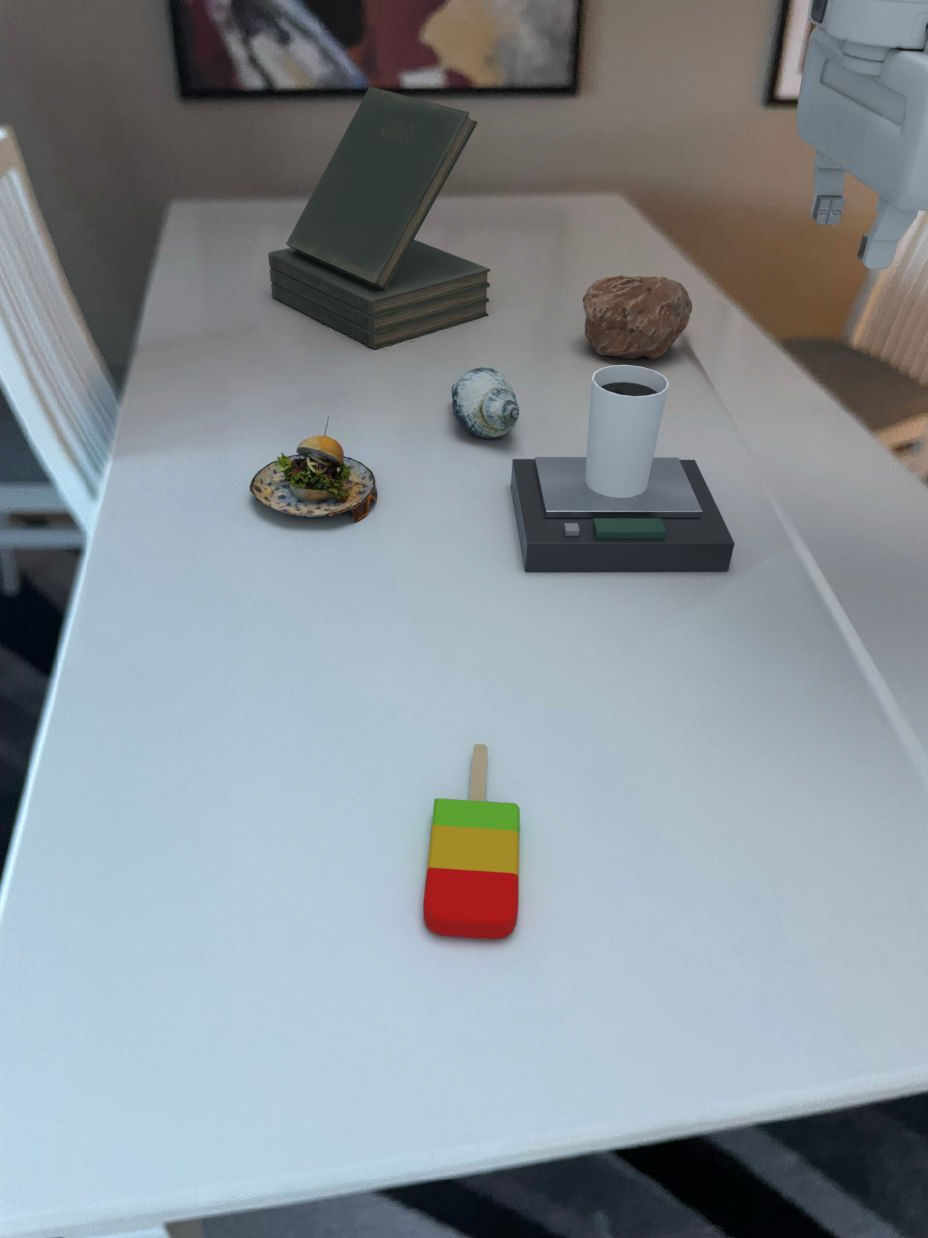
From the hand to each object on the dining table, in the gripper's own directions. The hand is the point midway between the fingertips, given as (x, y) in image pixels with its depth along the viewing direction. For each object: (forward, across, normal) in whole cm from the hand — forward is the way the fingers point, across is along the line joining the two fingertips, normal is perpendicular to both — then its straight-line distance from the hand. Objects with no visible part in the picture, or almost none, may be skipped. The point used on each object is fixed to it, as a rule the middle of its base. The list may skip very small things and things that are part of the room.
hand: (847, 242), depth 68 cm
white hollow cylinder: (+26, +12, +11) cm, 30 cm away
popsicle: (+29, -27, +26) cm, 48 cm away
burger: (+29, +15, +39) cm, 51 cm away
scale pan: (+26, +12, +11) cm, 31 cm away
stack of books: (+29, +66, +34) cm, 80 cm away
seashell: (+29, +30, +22) cm, 47 cm away
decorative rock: (+29, +51, +2) cm, 59 cm away
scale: (+29, +10, +11) cm, 33 cm away
